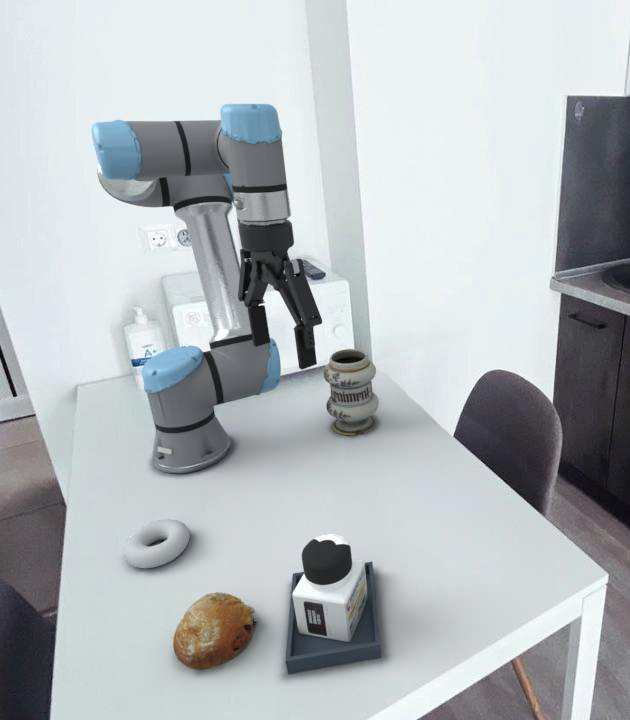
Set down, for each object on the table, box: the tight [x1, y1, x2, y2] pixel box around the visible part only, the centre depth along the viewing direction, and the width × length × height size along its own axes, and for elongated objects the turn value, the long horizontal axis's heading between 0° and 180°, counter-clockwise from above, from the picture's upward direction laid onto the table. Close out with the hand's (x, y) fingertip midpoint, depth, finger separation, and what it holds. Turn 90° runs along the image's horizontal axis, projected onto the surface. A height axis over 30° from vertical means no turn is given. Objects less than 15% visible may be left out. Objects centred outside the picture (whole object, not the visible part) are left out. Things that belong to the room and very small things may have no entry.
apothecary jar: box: [323, 348, 380, 436], centre depth 126 cm, size 12×12×18 cm
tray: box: [284, 561, 382, 675], centre depth 78 cm, size 15×12×2 cm
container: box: [293, 533, 368, 642], centre depth 76 cm, size 8×8×13 cm
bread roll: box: [172, 591, 258, 670], centre depth 75 cm, size 10×10×8 cm
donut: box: [123, 518, 191, 569], centre depth 91 cm, size 10×4×10 cm
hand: (284, 354), depth 88 cm, fingers open, 13 cm apart
